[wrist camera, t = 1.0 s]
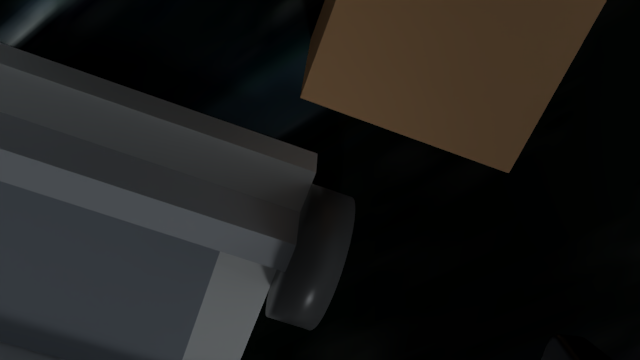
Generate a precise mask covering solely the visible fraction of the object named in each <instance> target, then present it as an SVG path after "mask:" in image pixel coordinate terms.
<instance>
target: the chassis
mask: <svg viewBox="0 0 640 360" xmlns="http://www.w3.org/2000/svg"><path fill="white" fill-rule="evenodd" d="M316 168H317V153H314V152H311V151H308V150H306V149H303V148H300V147H297V146H294V145H291V144H288V143H286V142H283V141H280V140H277V139H274V138H271V137H268V136H266V135H263V134H260V133H257V132H254V131H251V130H248V129H246V128H243V127H240V126H237V125H234V124H231V123H228V122H225V121H223V120H220V119H217V118H214V117H211V116H208V115H205V114H203V113H200V112H197V111H194V110H191V109H188V108H185V107H183V106H180V105H177V104H174V103H171V102H168V101H165V100H163V99H160V98H157V97H154V96H151V95H148V94H145V93H143V92H140V91H137V90H134V89H131V88H128V87H125V86H123V85H120V84H117V83H114V82H111V81H108V80H105V79H103V78H100V77H97V76H94V75H91V74H88V73H85V72H83V71H80V70H77V69H74V68H71V67H68V66H65V65H63V64H60V63H57V62H54V61H51V60H48V59H45V58H43V57H40V56H37V55H34V54H31V53H28V52H25V51H22V50H20V49H17V48H14V47H11V46H8V45H5V44H2V43H0V360H240V359H241V357H242V354H243V352H244V349H245V347H246V344H247V342H248V340H249V337H250V335H251V332H252V330H253V327H254V325H255V322H256V320H257V317H258V315H259V312H260V310H261V307H262V305H263V302H264V300H265V298H266V295H267V293H268V290H269V293H268V298H267V304H266V316H267V317H269V318H272V319H276V320H279V321H282V322H285V323H289V324H292V325H295V326H298V327H302V328H305V329H308V330H312V329H314V328H315V327H316V326H317V325H318V323H319V322H320V320H321V319H322V317H323V315H324V314H325V312H326V310H327V308H328V306H329V304H330V301H331V299H332V297H333V294H334V292H335V289H336V287H337V284H338V281H339V279H340V276H341V273H342V270H343V267H344V263H345V260H346V257H347V253H348V249H349V245H350V241H351V236H352V232H353V226H354V219H355V201H354V199H353V197H350V196H347V195H344V194H341V193H338V192H335V191H332V190H329V189H327V188H324V187H321V186H318V185H315V184H312V182H313V179H314V177H315V174H316ZM269 288H270V289H269Z"/></svg>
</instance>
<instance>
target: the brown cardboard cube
mask: <svg viewBox="0 0 640 360" xmlns="http://www.w3.org/2000/svg"><path fill="white" fill-rule="evenodd" d="M605 2H606V0H325V1H324V4H323V7H322V9H321V12H320V15H319V18H318V20H317V23H316V26H315V29H314V32H313V34H312V37H311V41H310V47H309V52H308V57H307V63H306V68H305V74H304V79H303V84H302V90H301V95H300V98H302V99H305V100H308V101H310V102H313V103H316V104H319V105H321V106H324V107H327V108H330V109H333V110H335V111H338V112H341V113H344V114H346V115H349V116H352V117H355V118H357V119H360V120H363V121H366V122H368V123H371V124H374V125H377V126H380V127H382V128H385V129H388V130H391V131H393V132H396V133H399V134H402V135H404V136H407V137H410V138H413V139H415V140H418V141H421V142H424V143H427V144H429V145H432V146H435V147H438V148H440V149H443V150H446V151H449V152H451V153H454V154H457V155H460V156H462V157H465V158H468V159H471V160H473V161H476V162H479V163H482V164H485V165H487V166H490V167H493V168H496V169H498V170H501V171H504V172H507V173H509V172H510V170H511V168H512V167H513V165H514V163H515V161H516V160H517V158H518V156H519V154H520V153H521V151H522V149H523V147H524V145H525V144H526V142H527V140H528V138H529V137H530V135H531V133H532V131H533V130H534V128H535V126H536V124H537V122H538V121H539V119H540V117H541V115H542V114H543V112H544V110H545V108H546V107H547V105H548V103H549V101H550V99H551V98H552V96H553V94H554V92H555V91H556V89H557V87H558V85H559V84H560V82H561V80H562V78H563V76H564V75H565V73H566V71H567V69H568V68H569V66H570V64H571V62H572V61H573V59H574V57H575V55H576V53H577V52H578V50H579V48H580V46H581V45H582V43H583V41H584V39H585V38H586V36H587V34H588V32H589V30H590V29H591V27H592V25H593V23H594V22H595V20H596V18H597V16H598V15H599V13H600V11H601V9H602V8H603V6H604V4H605Z"/></svg>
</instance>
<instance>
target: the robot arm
mask: <svg viewBox="0 0 640 360" xmlns="http://www.w3.org/2000/svg"><path fill="white" fill-rule="evenodd" d="M541 360H613V359H611V358H610V357H609V356H607V355H606V354H605V353H603V352H602V351H601V350H600V349H598V348H597V347H596V346H594V345H593V344H592V343H591V342H589V341H588V340H587V339H585V338H583V337H579V336H571V335H562V334H556V335H553V336H551V338H550V339H549V340H548V342H547V345H546V347H545V350H544V352H543V355H542V358H541Z"/></svg>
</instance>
